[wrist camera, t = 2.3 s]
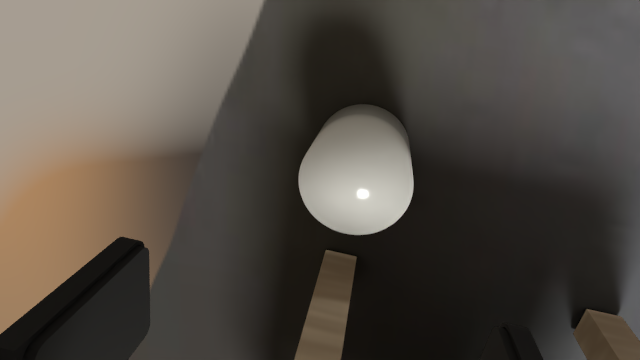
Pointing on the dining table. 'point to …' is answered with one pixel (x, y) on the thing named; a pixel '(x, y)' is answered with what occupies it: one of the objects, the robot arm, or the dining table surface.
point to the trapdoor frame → (334, 298)
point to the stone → (358, 171)
